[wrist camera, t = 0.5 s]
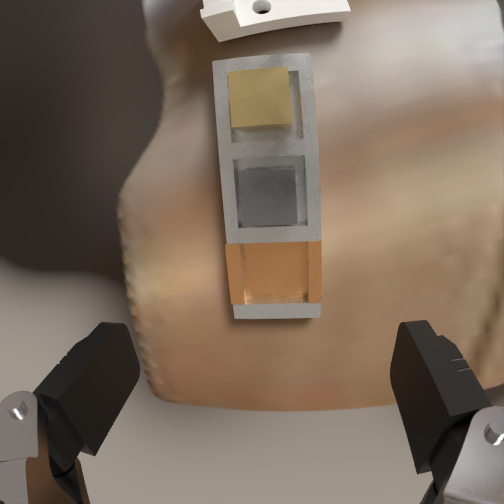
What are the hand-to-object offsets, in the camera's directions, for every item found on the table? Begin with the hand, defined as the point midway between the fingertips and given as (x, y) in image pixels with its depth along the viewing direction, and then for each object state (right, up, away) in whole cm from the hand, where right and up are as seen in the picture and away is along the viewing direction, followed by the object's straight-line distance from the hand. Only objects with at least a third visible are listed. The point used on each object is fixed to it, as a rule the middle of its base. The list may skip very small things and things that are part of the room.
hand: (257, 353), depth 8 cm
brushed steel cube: (+2, +9, +21) cm, 23 cm away
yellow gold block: (+1, +16, +19) cm, 25 cm away
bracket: (+2, +28, +16) cm, 33 cm away
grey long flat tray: (+2, +9, +22) cm, 24 cm away
